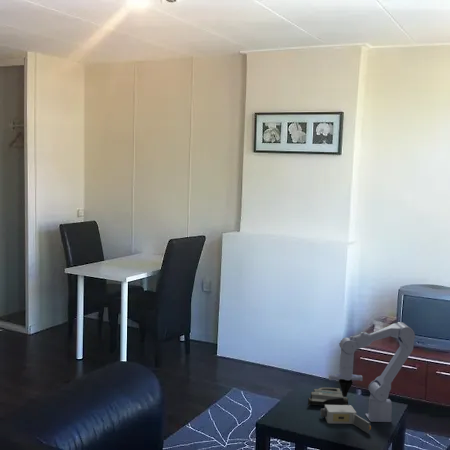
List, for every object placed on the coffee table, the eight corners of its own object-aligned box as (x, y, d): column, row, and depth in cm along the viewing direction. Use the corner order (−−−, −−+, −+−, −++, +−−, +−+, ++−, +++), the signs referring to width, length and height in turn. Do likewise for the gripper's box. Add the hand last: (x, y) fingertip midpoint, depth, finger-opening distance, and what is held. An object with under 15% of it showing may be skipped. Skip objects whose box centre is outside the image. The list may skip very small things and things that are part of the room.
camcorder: (351, 407, 278) (352, 396, 277) (309, 409, 274) (309, 397, 273) (338, 395, 294) (339, 384, 293) (298, 395, 290) (298, 385, 289)
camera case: (350, 416, 268) (351, 405, 267) (355, 424, 259) (356, 412, 259) (319, 415, 267) (320, 404, 266) (323, 423, 258) (324, 412, 258)
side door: (351, 423, 259) (352, 413, 258) (354, 423, 260) (355, 413, 259) (367, 433, 250) (368, 423, 249) (370, 432, 250) (371, 422, 250)
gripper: (332, 368, 259) (330, 399, 260) (365, 369, 260) (363, 399, 261) (328, 363, 266) (326, 393, 267) (360, 363, 267) (358, 393, 268)
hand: (344, 396), depth 264 cm, fingers closed
